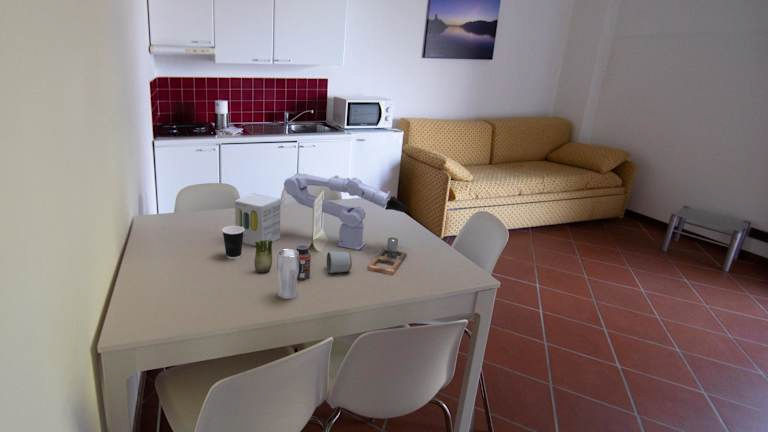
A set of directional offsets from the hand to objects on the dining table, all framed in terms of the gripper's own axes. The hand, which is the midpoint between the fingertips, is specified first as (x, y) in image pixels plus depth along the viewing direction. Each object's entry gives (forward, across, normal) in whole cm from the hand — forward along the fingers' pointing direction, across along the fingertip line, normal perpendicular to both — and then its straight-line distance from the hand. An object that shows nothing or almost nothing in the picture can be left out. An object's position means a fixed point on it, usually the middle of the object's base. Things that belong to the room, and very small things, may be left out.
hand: (405, 209), depth 195 cm
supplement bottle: (-22, -26, +35) cm, 50 cm away
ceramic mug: (-13, -17, +30) cm, 37 cm away
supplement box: (-51, 0, +36) cm, 62 cm away
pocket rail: (+2, -5, +21) cm, 22 cm away
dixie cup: (-51, -18, +42) cm, 68 cm away
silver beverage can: (-22, -40, +39) cm, 60 cm away
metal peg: (+2, -1, +20) cm, 20 cm away
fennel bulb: (-36, -26, +40) cm, 60 cm away
